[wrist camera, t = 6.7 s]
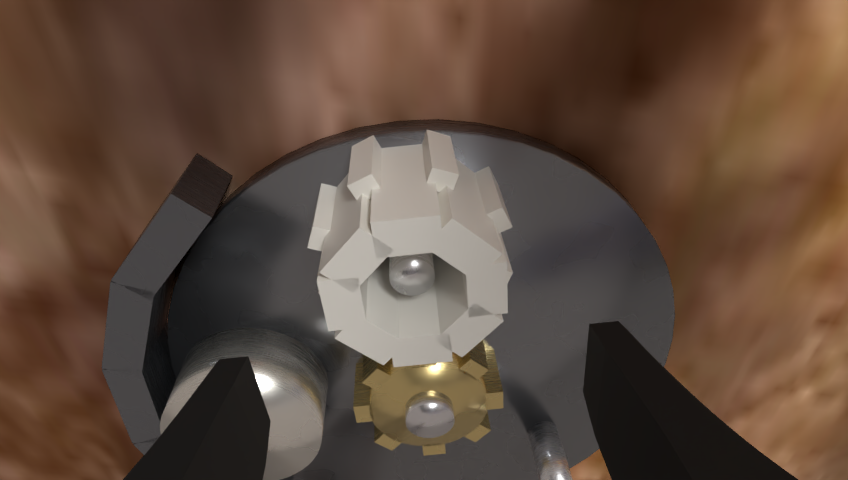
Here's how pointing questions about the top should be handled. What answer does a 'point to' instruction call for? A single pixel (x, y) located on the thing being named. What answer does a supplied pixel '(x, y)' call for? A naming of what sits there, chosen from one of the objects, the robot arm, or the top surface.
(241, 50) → the top surface
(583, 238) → the carrier
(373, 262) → the planet gear
